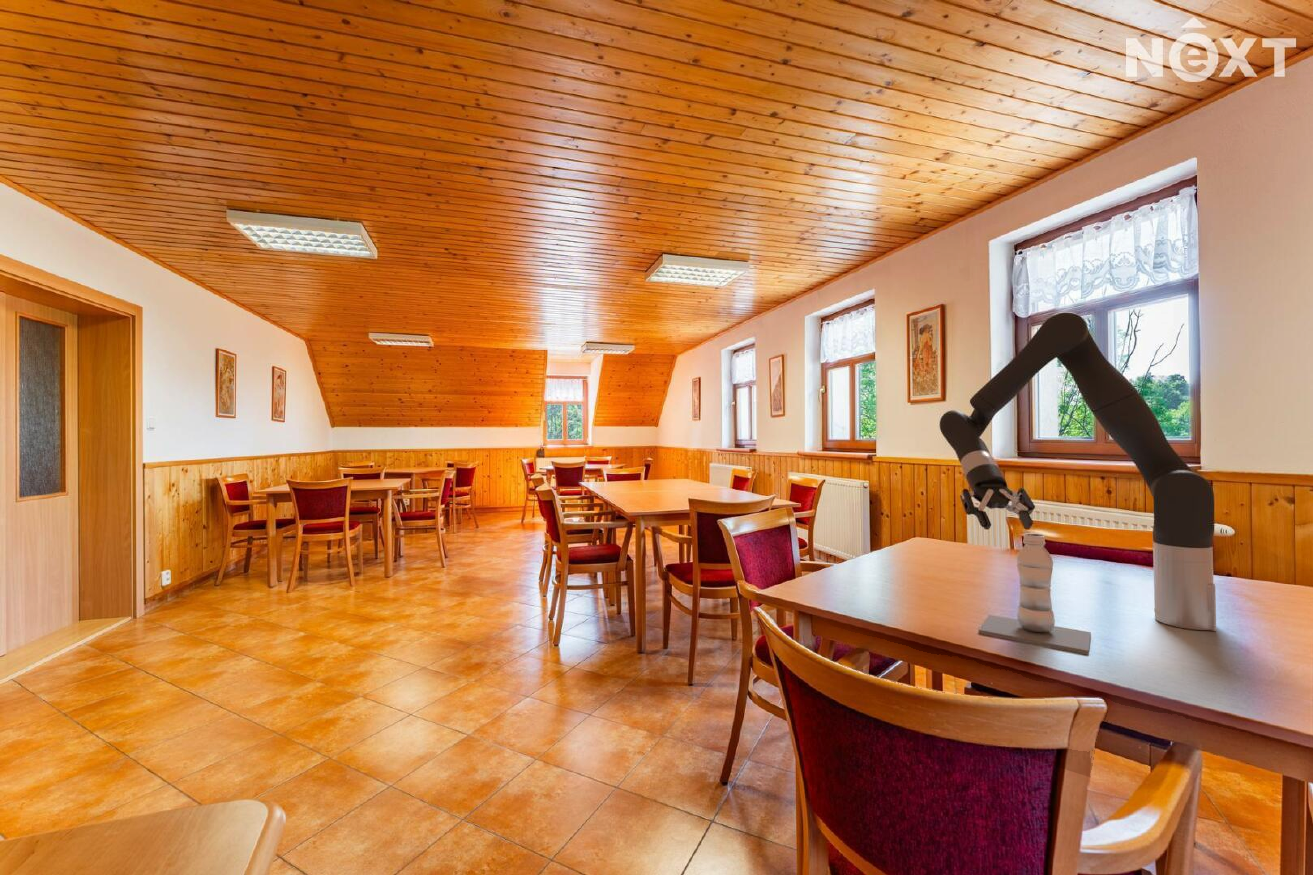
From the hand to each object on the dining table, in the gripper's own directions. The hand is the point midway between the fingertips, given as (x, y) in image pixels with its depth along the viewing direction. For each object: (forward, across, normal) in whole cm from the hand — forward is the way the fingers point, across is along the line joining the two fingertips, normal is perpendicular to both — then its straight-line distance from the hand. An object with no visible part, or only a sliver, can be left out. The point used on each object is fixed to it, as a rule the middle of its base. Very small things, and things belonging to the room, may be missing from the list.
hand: (1008, 527), depth 119 cm
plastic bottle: (+20, 0, +8) cm, 22 cm away
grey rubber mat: (+21, 0, +8) cm, 23 cm away
